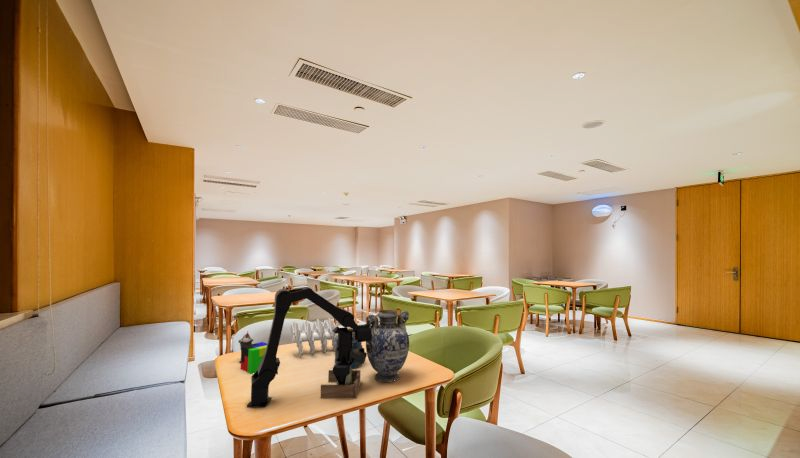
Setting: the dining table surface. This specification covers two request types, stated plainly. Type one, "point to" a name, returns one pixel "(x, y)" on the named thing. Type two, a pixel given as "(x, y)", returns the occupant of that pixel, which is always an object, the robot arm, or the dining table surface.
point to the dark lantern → (245, 340)
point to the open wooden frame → (341, 387)
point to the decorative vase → (387, 344)
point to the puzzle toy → (252, 356)
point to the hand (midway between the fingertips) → (344, 384)
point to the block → (348, 379)
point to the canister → (356, 346)
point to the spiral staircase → (314, 334)
